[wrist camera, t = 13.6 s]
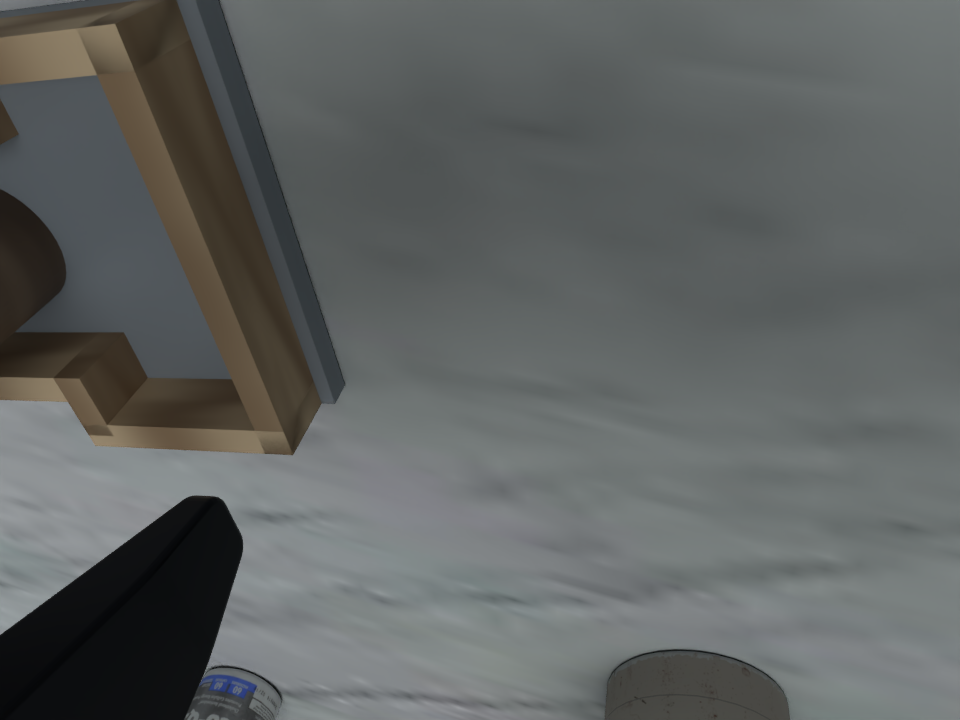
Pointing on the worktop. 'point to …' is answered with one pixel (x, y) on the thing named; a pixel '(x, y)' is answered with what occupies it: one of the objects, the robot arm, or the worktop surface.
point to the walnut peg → (25, 265)
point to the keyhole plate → (156, 233)
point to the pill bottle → (234, 697)
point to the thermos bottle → (692, 689)
